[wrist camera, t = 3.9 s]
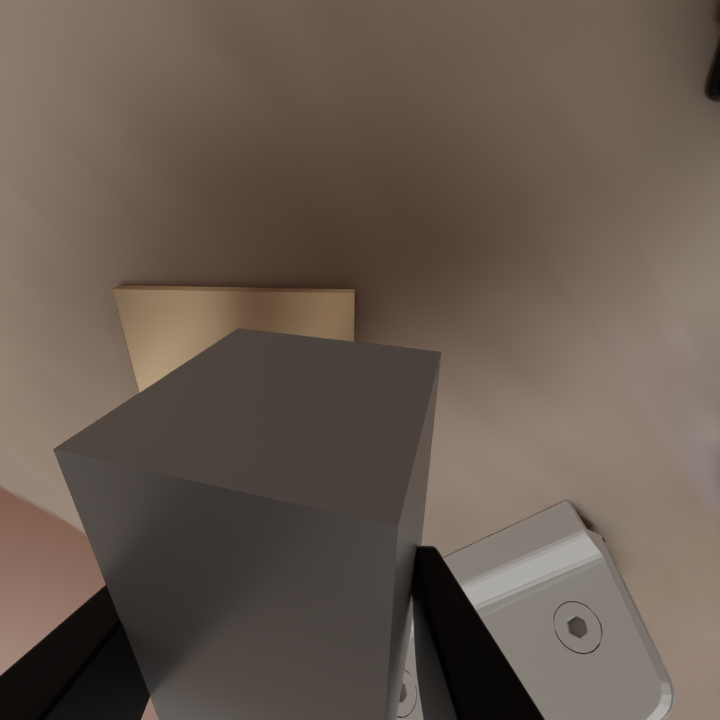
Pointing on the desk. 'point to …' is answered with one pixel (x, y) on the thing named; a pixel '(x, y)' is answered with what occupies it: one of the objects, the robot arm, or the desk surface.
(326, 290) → the coaster
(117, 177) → the desk surface
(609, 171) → the desk surface
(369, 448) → the plug
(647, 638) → the hinge
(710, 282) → the desk surface
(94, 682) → the robot arm
